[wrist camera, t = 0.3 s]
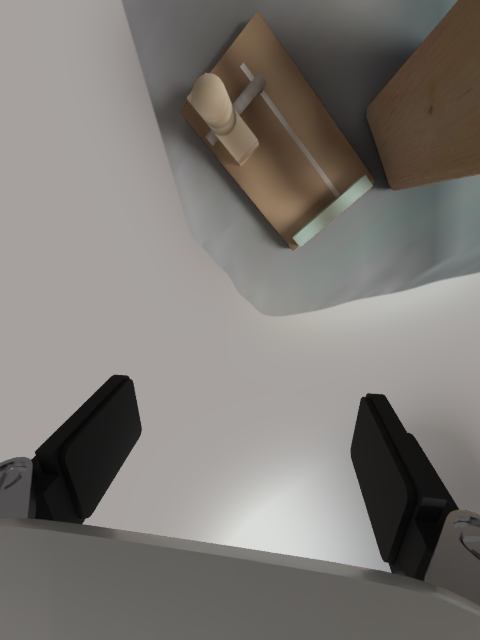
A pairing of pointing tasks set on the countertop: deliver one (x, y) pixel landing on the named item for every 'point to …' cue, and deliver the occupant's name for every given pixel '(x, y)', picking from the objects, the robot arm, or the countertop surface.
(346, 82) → the countertop surface
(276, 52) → the walnut board
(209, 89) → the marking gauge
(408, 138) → the wooden block
